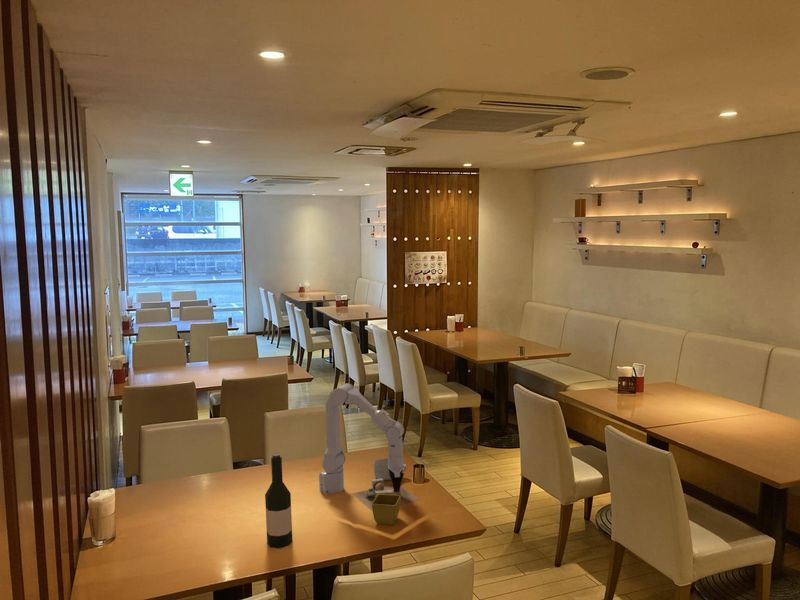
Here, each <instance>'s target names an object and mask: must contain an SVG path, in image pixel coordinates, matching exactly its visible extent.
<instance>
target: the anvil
mask: <svg viewBox="0 0 800 600" xmlns="http://www.w3.org/2000/svg"><path fill="white" fill-rule="evenodd" d="M384 482H385V480H383V479H382V478H380V479H377V478H372V479H371V488H372V489H374V490H375V486H376V485H377V484H378V483H382V484H383V485H384V486H385V484H384ZM375 491H376V490H375Z"/></svg>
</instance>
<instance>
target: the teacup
mask: <svg viewBox="0 0 800 600" xmlns="http://www.w3.org/2000/svg"><path fill="white" fill-rule="evenodd" d="M403 464H406V468H403V470H402V473H404V472H405V471H406V470H407V467H408V465H407V463H406V461H405V462H404V461H403ZM373 471H374V472H373V473H374V477H375V479H380V478H382V479H383V480H384V482H385V481H386V482H387V481H392V480H391V478H390V476H389V473H390V472H389V471H388V457H384V458H383V457H382V458H379V459H376V460H374V461H373Z"/></svg>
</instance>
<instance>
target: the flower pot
mask: <svg viewBox="0 0 800 600" xmlns="http://www.w3.org/2000/svg"><path fill="white" fill-rule="evenodd" d="M400 500H401V496H400V495H386V494H377V496H376V497H375V499H374V501H373V502H372V510H373V511H372V510H371V511H372V515H373V519H374V521H375V524H377V525H388V526H389V525H390V526H393V525H395V522H396V521H397V518H398V517H399V513H400V509H401V504H400Z"/></svg>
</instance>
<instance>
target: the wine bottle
mask: <svg viewBox="0 0 800 600" xmlns="http://www.w3.org/2000/svg"><path fill="white" fill-rule="evenodd" d="M282 459H283V457H282V456H281V454H280V453H273V454H272V455H271V457H270V463H271V465H270V466H271V484H270V485H269V487H268V489H267V490H266V493H265V494H264V499H265V520H266V521H265V523H266V524H265V525H266V527H265V528H266V541H267V542H266V544H267V545H268V547H269V548H270V549H271V548H272V549H282V548H287V547H289V546H290V545H291V544H292V543H293V521H292V520H293V519H292V495H291V491H290V490H289V489H288V487H287V486H286V484H285V483H284V482H283V460H282Z"/></svg>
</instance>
